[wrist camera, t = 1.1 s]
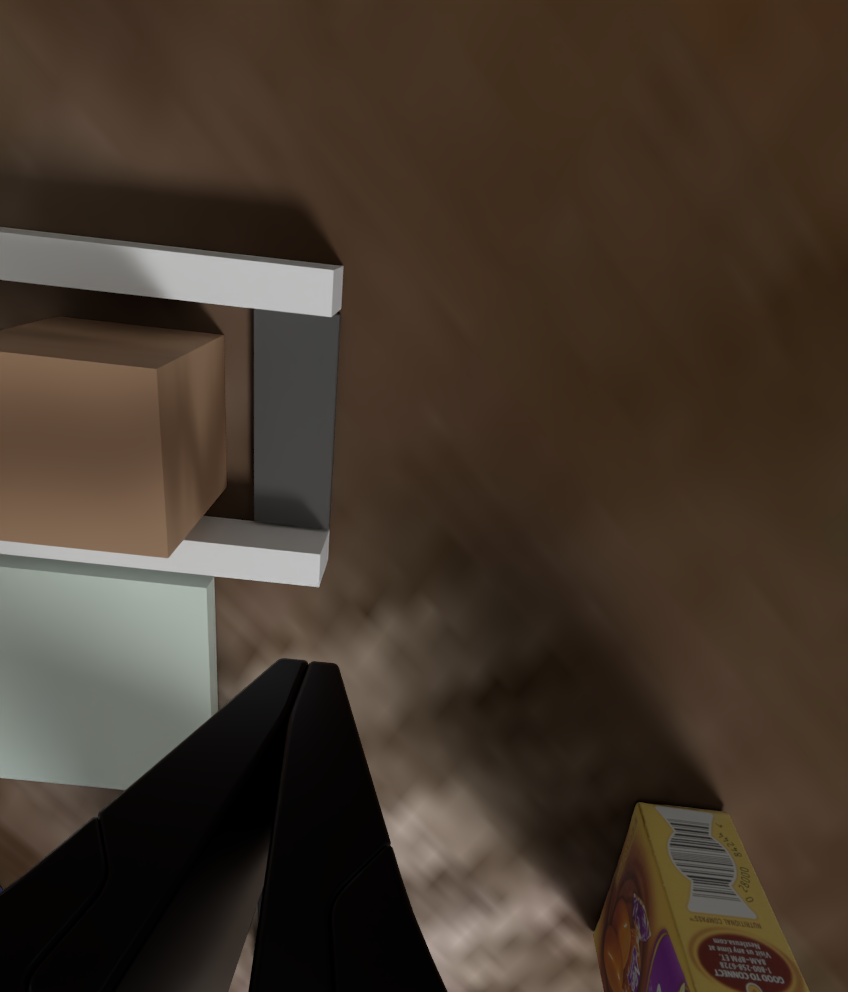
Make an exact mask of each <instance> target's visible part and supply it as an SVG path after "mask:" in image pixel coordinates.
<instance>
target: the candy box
mask: <svg viewBox="0 0 848 992" xmlns="http://www.w3.org/2000/svg"><path fill="white" fill-rule="evenodd" d="M593 937H594V942H595V947H596V952H597V958H598V963H599V968H600V973H601V978H602V983H603V988H604V992H809V989H808V987H807V985H806V983H805V980H804V978H803V976H802V975H801V972H800V970H799V968H798V965H797V963H796V961H795V959H794V956H793V954H792V952H791V950H790V947H789V945H788V943H787V941H786V939H785V937H784V934H783V932H782V930H781V928H780V926H779V924H778V922H777V919H776V917H775V915H774V913H773V910H772V908H771V906H770V904H769V901H768V899H767V897H766V895H765V893H764V891H763V889H762V886H761V884H760V882H759V880H758V877H757V875H756V873H755V871H754V869H753V867H752V864H751V862H750V860H749V858H748V856H747V854H746V851H745V849H744V847H743V844H742V842H741V840H740V838H739V835H738V833H737V831H736V829H735V827H734V825H733V822H732V820H731V817H730V815H729V814H728V813H726V812H721V811H714V810H705V809H696V808H689V807H680V806H670V805H658V804H648V803H643V802H637V804H636V806H635V809H634V812H633V815H632V818H631V822H630V826H629V830H628V833H627V836H626V840H625V843H624V846H623V849H622V853H621V855H620V859H619V861H618V865H617V868H616V871H615V873H614V876H613V880H612V882H611V886H610V889H609V892H608V894H607V897H606V900H605V903H604V907H603V910H602V913H601V916H600V919H599V921H598V924H597V926H596V929H595V931H594V934H593Z"/></svg>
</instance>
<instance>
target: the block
mask: <svg viewBox="0 0 848 992" xmlns="http://www.w3.org/2000/svg"><path fill="white" fill-rule="evenodd" d="M226 487H227V463H226V411H225V359H224V335H221V334H212V333H203V332H194V331H185V330H176V329H167V328H158V327H150V326H141V325H132V324H123V323H114V322H105V321H96V320H87V319H78V318H69V317H60V316H57V317H52V318H48V319H44V320H40V321H36V322H32V323H27V324H23V325H19V326H15V327H11V328H6V329H2V330H0V541H9V542H18V543H28V544H37V545H47V546H56V547H66V548H75V549H85V550H94V551H104V552H113V553H123V554H132V555H141V556H151V557H160V558H169V557H170V556H171V554H172V553H173V552H174V551H175V549H176V548H177V547H178V546H179V545H180V543H181V542H182V541H183V540H184V538H185V537H186V536H187V535H188V534H189V532H190V531H191V530H192V529H193V528H194V526H195V525H196V524H197V523H198V521H199V520H200V519H201V518H202V517H203V515H204V514H205V513H206V512H207V510H208V509H209V508H210V507H211V506H212V504H213V503H214V502H215V501H216V499H217V498H218V497H219V496H220V495H221V493H222V492H223V491H224V490H225V488H226Z"/></svg>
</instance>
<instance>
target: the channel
mask: <svg viewBox="0 0 848 992" xmlns="http://www.w3.org/2000/svg"><path fill="white" fill-rule="evenodd" d="M0 280H6V281H15V282H24V283H33V284H42V285H51V286H60V287H68V288H77V289H86V290H95V291H104V292H113V293H122V294H130V295H139V296H148V297H157V298H166V299H175V300H184V301H192V302H201V303H210V304H219V305H228V306H237V307H246V308H254V521H248V520H239V519H229V518H220V517H211V516H203V517H202V518H201V519H200V520H199V521H198V523H197V524H196V525H195V526H194V528H193V529H192V530H191V531H190V532H189V534H188V535H187V536H186V537H185V538H184V540H183V541H182V542H181V543H180V545H179V546H178V547H177V548H176V549H175V551H174V552H173V553H172V554H171V556H170V557H169V558H160V557H151V556H141V555H132V554H123V553H113V552H104V551H94V550H85V549H75V548H66V547H56V546H47V545H37V544H28V543H18V542H9V541H0V554H8V555H17V556H27V557H36V558H46V559H55V560H65V561H74V562H84V563H93V564H103V565H113V566H122V567H132V568H141V569H151V570H160V571H170V572H179V573H189V574H198V575H208V576H217V577H227V578H237V579H246V580H256V581H265V582H275V583H284V584H294V585H303V586H313V587H319V585H320V582H321V579H322V576H323V573H324V570H325V567H326V565H327V562H328V552H329V533H330V529H329V526H330V513H331V494H332V475H333V456H334V437H335V418H336V399H337V380H338V361H339V341H340V322H341V314H336V313H337V312H338V311H339V310H341V303H342V284H343V266H339V265H330V264H321V263H313V262H304V261H295V260H286V259H278V258H269V257H260V256H252V255H243V254H234V253H225V252H217V251H208V250H199V249H190V248H182V247H173V246H164V245H155V244H147V243H138V242H129V241H120V240H112V239H103V238H94V237H85V236H77V235H68V234H59V233H50V232H42V231H33V230H24V229H15V228H7V227H0Z"/></svg>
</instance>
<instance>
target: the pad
mask: <svg viewBox="0 0 848 992" xmlns="http://www.w3.org/2000/svg"><path fill="white" fill-rule="evenodd" d="M217 711H218V687H217V654H216V620H215V587H214V576H207V575H197V574H188V573H178V572H169V571H159V570H150V569H140V568H131V567H121V566H111V565H102V564H92V563H83V562H73V561H64V560H54V559H45V558H35V557H26V556H16V555H7V554H0V778H8V779H18V780H28V781H39V782H49V783H59V784H69V785H79V786H89V787H100V788H110V789H120V790H126V789H127V788H128V787H129V786H131V785H132V784H133V783H134V782H135V781H136V780H138V779H139V778H140V777H141V776H142V775H144V774H145V773H146V772H147V771H148V770H149V769H151V768H152V767H153V766H154V765H155V764H156V763H158V762H159V761H160V760H161V759H162V758H163V757H165V756H166V755H167V754H168V753H169V752H171V751H172V750H173V749H174V748H175V747H176V746H178V745H179V744H180V743H181V742H182V741H183V740H185V739H186V738H187V737H188V736H189V735H190V734H192V733H193V732H194V731H195V730H196V729H197V728H199V727H200V726H201V725H202V724H203V723H205V722H206V721H207V720H208V719H209V718H210V717H212V716H213V715H214V714H215V713H216V712H217Z"/></svg>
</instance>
